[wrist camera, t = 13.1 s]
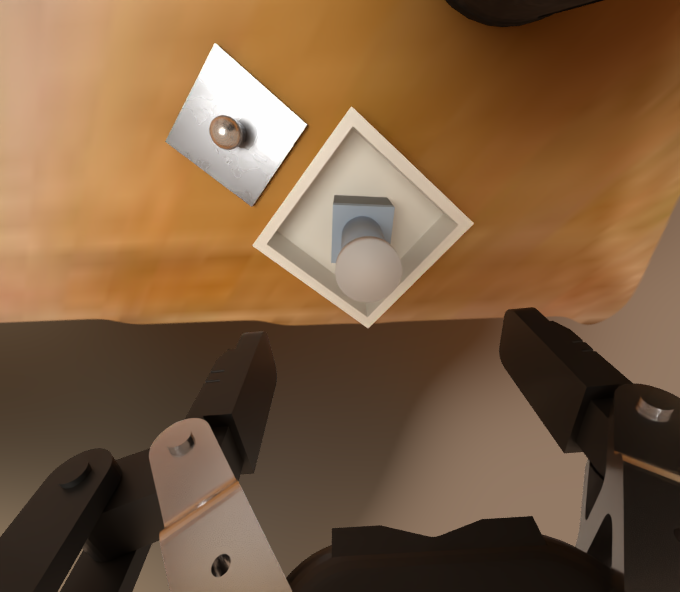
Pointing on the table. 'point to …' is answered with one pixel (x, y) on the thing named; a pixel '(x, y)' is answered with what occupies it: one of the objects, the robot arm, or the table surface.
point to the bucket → (513, 10)
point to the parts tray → (360, 180)
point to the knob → (364, 247)
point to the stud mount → (234, 127)
